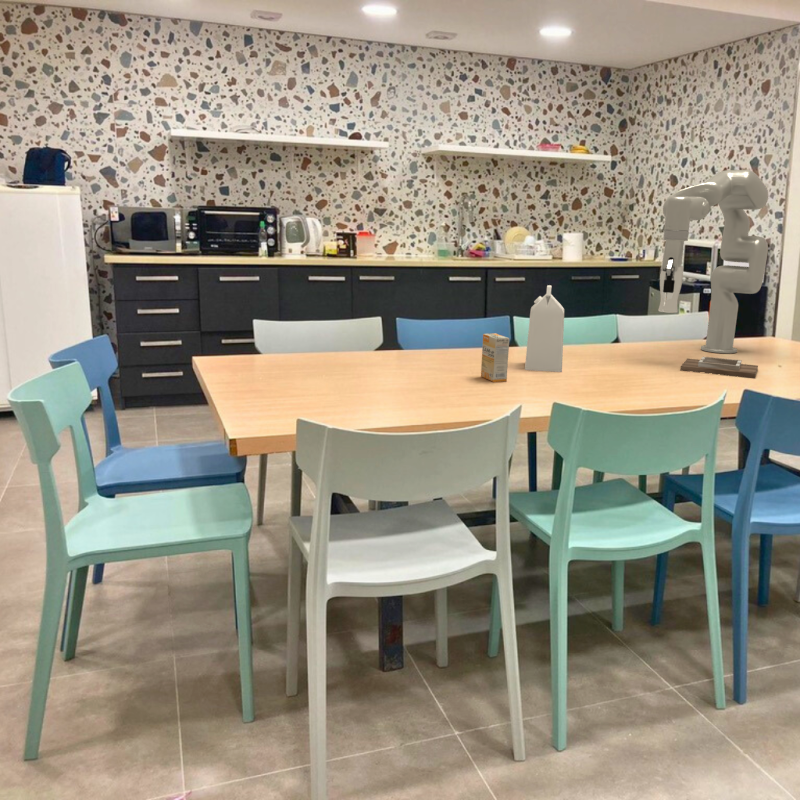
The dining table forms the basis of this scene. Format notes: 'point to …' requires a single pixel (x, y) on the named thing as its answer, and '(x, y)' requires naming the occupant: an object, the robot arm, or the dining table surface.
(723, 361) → the walnut board
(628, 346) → the dining table surface
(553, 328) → the milk
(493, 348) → the supplement box
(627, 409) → the dining table surface
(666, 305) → the beer glass
